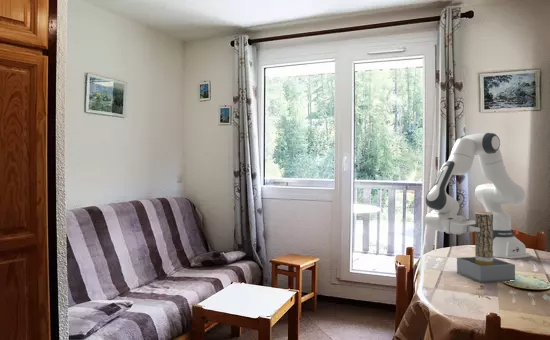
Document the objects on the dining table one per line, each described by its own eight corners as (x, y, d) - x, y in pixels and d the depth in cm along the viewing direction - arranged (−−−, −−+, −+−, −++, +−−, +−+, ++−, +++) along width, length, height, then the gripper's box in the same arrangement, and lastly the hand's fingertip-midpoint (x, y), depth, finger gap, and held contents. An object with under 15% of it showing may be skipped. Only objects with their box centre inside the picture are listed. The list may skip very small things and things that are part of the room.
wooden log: (495, 271, 165) (495, 213, 164) (478, 270, 166) (478, 213, 166) (489, 267, 171) (489, 211, 171) (473, 266, 173) (473, 211, 172)
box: (488, 271, 178) (488, 256, 178) (515, 281, 162) (514, 264, 162) (457, 272, 176) (456, 257, 175) (480, 283, 160) (480, 266, 160)
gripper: (470, 229, 185) (499, 233, 173) (443, 233, 175) (472, 238, 163) (470, 216, 185) (499, 219, 173) (443, 219, 175) (472, 223, 163)
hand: (486, 228), depth 168 cm, fingers closed on wooden log, 7 cm apart
